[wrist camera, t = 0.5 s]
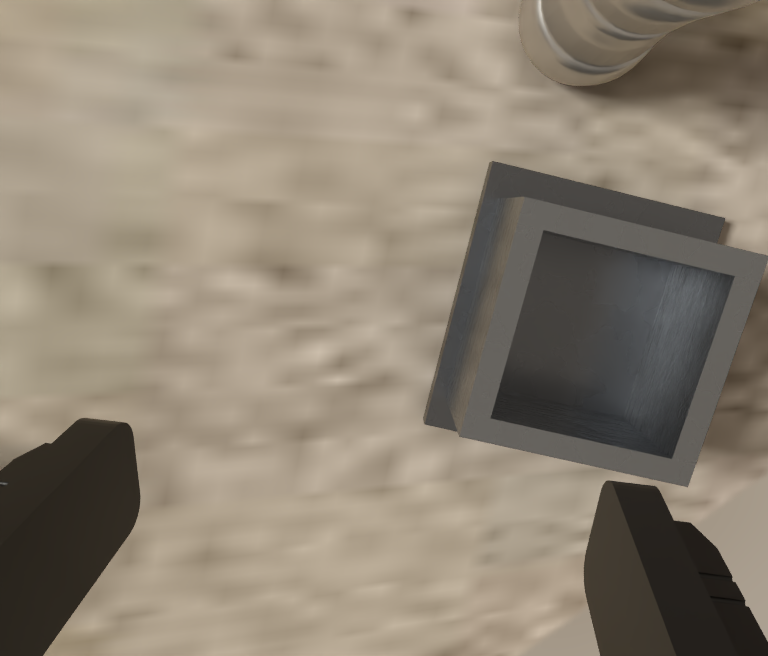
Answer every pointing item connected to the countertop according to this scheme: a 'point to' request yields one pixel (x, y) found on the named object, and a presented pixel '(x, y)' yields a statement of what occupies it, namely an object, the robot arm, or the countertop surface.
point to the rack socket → (591, 326)
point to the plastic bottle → (603, 33)
